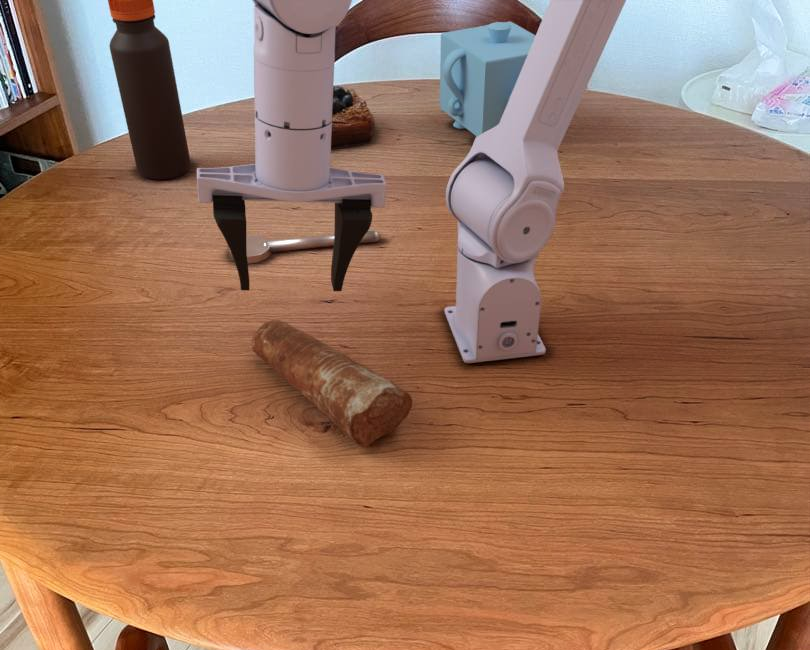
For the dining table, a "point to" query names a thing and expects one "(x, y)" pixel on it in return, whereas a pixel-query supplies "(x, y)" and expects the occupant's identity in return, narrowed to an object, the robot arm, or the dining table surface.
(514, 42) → the teapot
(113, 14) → the bottle
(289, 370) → the brown wooden log
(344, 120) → the pastry
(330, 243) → the spoon
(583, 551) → the dining table surface
